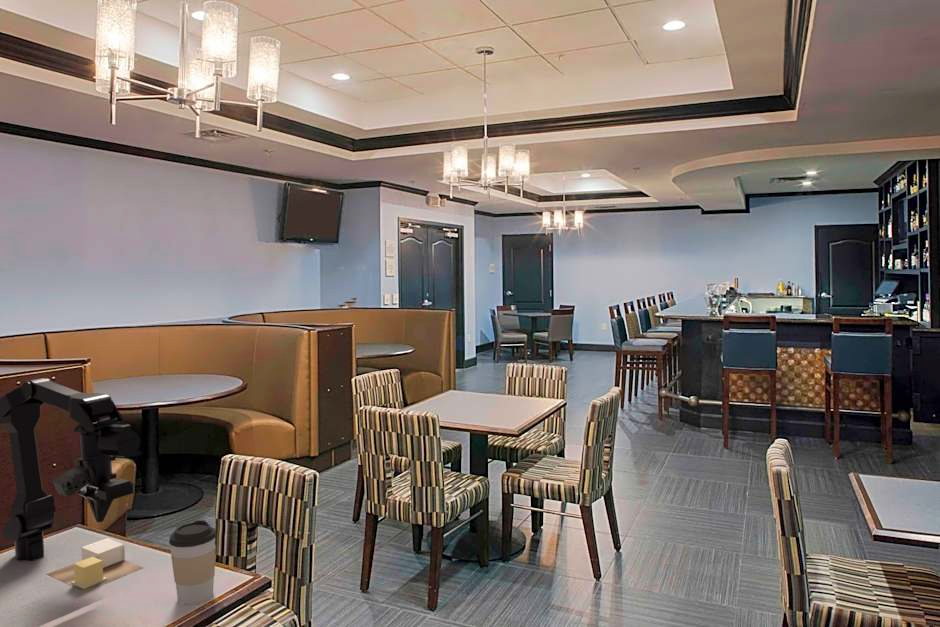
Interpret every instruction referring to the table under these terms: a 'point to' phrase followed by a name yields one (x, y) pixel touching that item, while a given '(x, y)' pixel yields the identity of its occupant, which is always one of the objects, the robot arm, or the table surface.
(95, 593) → the table surface
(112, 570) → the board
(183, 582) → the coffee cup
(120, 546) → the cover
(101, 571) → the block
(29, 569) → the table surface
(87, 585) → the thin mint green panel
